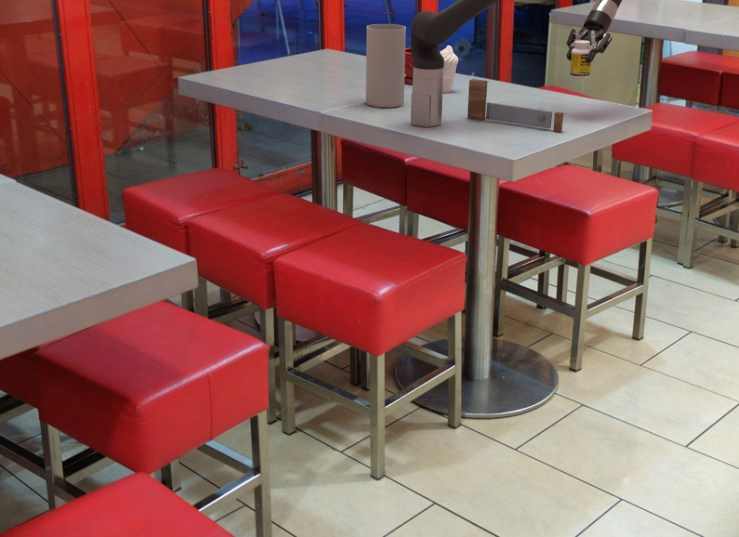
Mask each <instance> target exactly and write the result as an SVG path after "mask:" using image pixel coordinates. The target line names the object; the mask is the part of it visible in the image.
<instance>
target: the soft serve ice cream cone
mask: <svg viewBox="0 0 739 537" xmlns="http://www.w3.org/2000/svg"><path fill="white" fill-rule="evenodd" d="M439 51H440V53H441V55H442V56H443V58H444V77H443V94H445V93H446V94H449V93H451V92H452V89H453V86H454V83H455V82H454V81H455V78H456V70H457V65H458V63H459V57H458V56H457V55H456V54H455V53H454V49H453V46H451V45H447V46H446V47H445V48H444V49H442V50H439Z"/></svg>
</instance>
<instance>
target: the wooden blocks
mask: <svg viewBox="0 0 739 537" xmlns="http://www.w3.org/2000/svg"><path fill="white" fill-rule="evenodd" d="M468 83H469V84H468V98H467V99H468V100H467V101H468V102H467V115H466V116H467V119H468V120H475V121H485V120H486V111H487V96H488V94H487V93H488V80H484V79H483V80H482V79H477V78H475V79H474V78H472V79H469V81H468ZM553 118H554V119H553V129H552V132H553V131H556V132H555V133H561V132H563V123H564V112H561V111H556V112H554V117H553Z"/></svg>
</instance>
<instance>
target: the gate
mask: <svg viewBox="0 0 739 537" xmlns="http://www.w3.org/2000/svg"><path fill="white" fill-rule="evenodd" d="M552 117H553V111H550V110H545V109H539V108H532V107H531V108H530V107H523V106H518V105H509V104H502V103H496V102H487V101H486V114H485V120H490V121H497V122H503V123H508V124H509V123H510V124H516V125H517V124H518V125H524V126H530V127H537V128H542V129H543V128H544V129H551V128H552V120H553V118H552Z"/></svg>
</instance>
